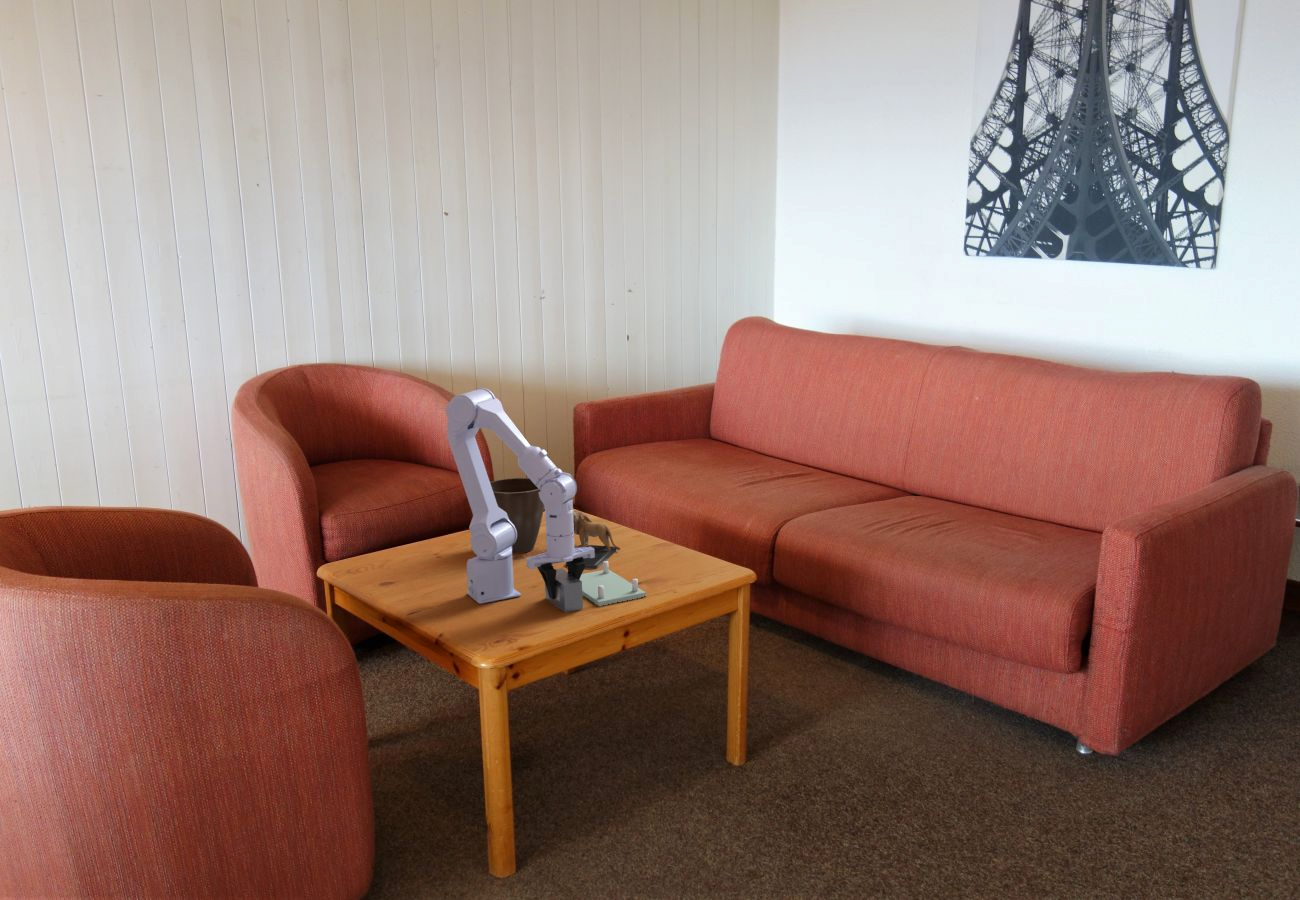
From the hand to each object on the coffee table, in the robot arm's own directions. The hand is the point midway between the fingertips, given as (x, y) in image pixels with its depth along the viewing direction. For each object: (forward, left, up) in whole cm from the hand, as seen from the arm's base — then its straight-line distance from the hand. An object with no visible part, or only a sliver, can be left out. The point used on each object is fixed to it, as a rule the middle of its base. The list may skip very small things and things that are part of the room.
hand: (562, 595), depth 231 cm
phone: (+18, +24, -2) cm, 30 cm away
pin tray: (+11, +3, -2) cm, 12 cm away
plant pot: (+6, +40, -2) cm, 40 cm away
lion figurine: (+21, +31, -2) cm, 38 cm away
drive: (0, -1, -2) cm, 2 cm away
